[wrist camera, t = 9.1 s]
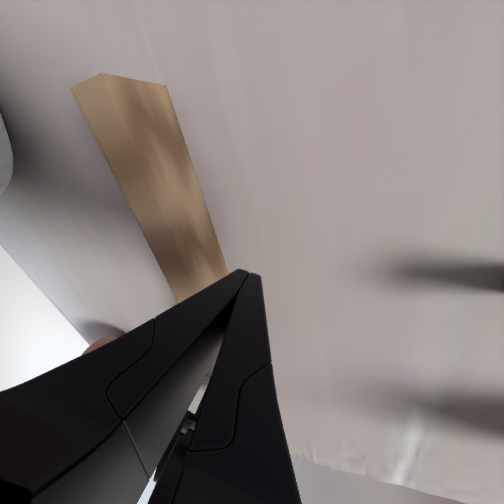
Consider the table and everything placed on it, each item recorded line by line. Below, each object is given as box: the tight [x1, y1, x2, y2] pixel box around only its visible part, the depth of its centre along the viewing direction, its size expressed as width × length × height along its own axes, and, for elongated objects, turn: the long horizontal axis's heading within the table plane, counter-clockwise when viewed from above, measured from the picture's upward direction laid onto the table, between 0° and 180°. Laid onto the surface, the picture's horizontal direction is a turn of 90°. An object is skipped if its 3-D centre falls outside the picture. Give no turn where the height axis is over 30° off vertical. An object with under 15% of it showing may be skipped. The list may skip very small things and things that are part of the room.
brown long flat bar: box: [71, 73, 229, 378], centre depth 16 cm, size 22×3×6 cm, turn 13°
